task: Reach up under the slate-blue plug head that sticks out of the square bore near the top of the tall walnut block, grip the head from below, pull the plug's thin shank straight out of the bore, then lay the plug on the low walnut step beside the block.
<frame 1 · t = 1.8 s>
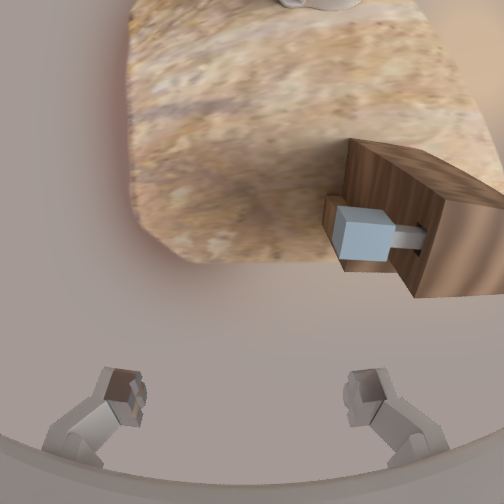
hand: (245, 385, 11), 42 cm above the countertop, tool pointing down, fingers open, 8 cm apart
plug: (357, 225, 28), point 23 cm above the countertop, touching stand
stand: (383, 171, 49), on the countertop
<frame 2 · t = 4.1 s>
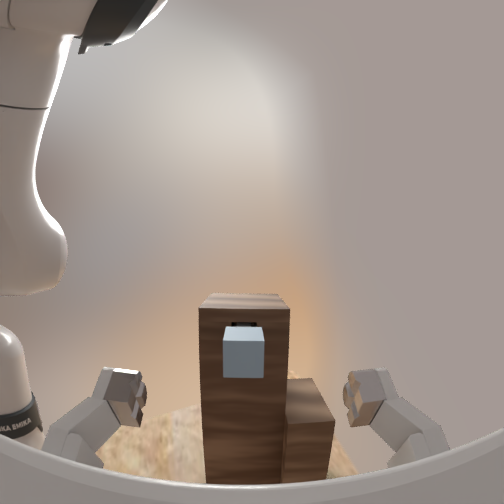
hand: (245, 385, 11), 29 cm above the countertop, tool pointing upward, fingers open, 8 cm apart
plug: (243, 368, 28), point 23 cm above the countertop, touching stand
stand: (243, 469, 41), on the countertop
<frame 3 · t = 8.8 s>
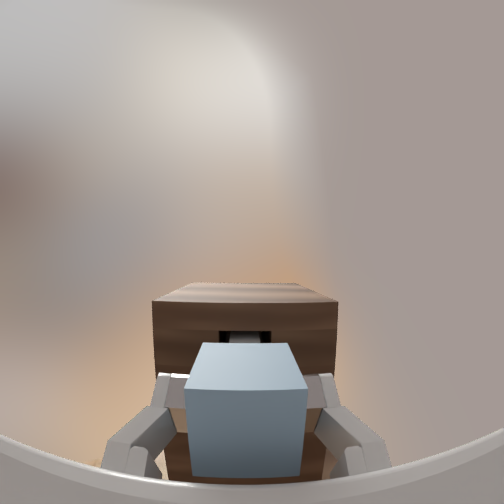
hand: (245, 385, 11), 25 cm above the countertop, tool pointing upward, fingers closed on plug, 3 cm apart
plug: (245, 442, 10), point 23 cm above the countertop, touching gripper, stand
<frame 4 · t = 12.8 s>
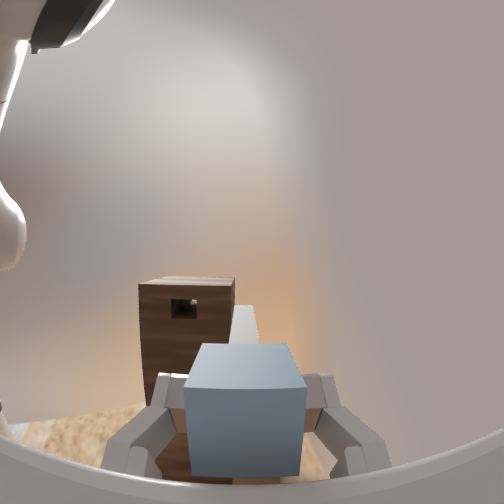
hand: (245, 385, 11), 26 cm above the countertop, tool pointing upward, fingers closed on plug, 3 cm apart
plug: (244, 442, 10), point 24 cm above the countertop, touching gripper
stand: (201, 462, 39), on the countertop
when the fingers open (19 cm above the countertop, at t = 17.3 s): plug drops 1 cm, resting on stand.
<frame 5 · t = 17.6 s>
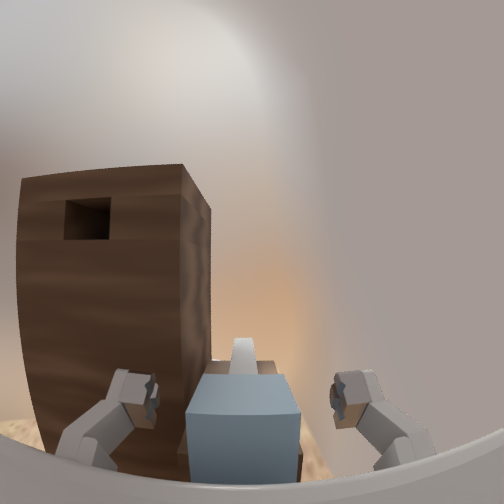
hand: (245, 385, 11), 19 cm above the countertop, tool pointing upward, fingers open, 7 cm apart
plug: (243, 466, 10), point 15 cm above the countertop, touching stand
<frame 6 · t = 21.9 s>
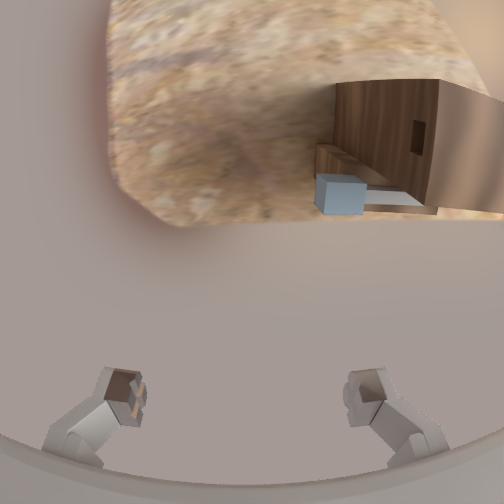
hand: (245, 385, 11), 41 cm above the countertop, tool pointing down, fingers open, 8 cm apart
plug: (334, 189, 34), point 15 cm above the countertop, touching stand
stand: (376, 118, 44), on the countertop
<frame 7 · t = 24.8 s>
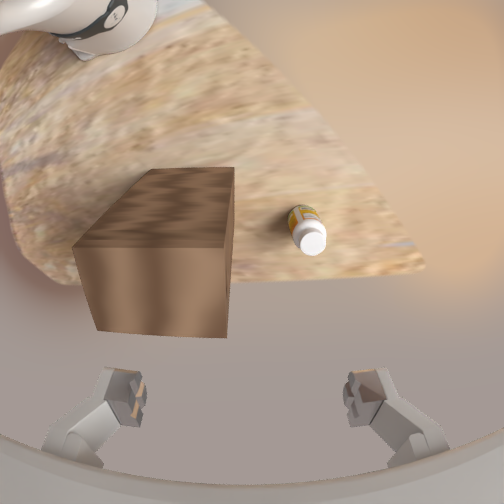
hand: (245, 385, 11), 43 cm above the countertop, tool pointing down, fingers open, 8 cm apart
supplement bottle: (302, 218, 55), on the countertop
stand: (193, 196, 52), on the countertop
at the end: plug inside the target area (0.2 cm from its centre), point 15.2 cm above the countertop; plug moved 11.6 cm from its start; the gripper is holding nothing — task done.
